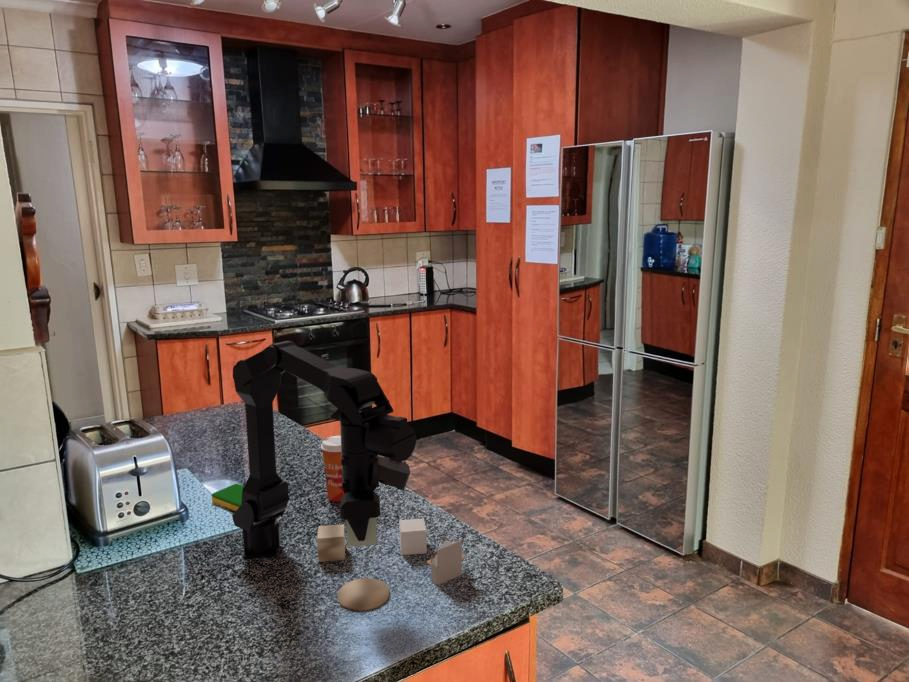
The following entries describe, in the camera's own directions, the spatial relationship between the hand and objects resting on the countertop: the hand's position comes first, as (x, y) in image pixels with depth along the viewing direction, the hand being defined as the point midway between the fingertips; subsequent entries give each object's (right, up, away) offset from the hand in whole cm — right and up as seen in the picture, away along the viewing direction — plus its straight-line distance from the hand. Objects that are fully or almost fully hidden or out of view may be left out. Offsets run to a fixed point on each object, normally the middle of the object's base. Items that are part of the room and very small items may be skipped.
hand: (361, 532), depth 113 cm
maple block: (-8, -9, +16) cm, 20 cm away
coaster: (0, -12, +2) cm, 12 cm away
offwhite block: (+8, -8, +18) cm, 22 cm away
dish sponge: (-33, -5, +38) cm, 51 cm away
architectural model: (+15, -11, +8) cm, 20 cm away
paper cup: (-11, -4, +41) cm, 43 cm away
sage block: (0, -1, 0) cm, 1 cm away
